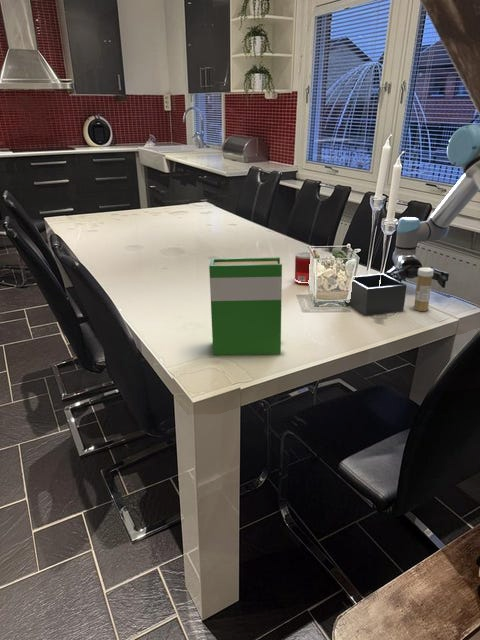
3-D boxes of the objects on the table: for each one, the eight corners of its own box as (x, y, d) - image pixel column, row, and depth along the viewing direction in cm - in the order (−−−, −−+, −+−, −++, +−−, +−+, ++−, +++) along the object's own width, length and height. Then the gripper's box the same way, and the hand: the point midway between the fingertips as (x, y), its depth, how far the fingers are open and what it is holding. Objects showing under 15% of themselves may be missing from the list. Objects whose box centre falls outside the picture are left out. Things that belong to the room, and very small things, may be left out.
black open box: (403, 311, 149) (406, 284, 146) (365, 315, 146) (367, 289, 143) (380, 298, 162) (383, 273, 158) (345, 302, 158) (346, 277, 155)
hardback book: (278, 342, 129) (279, 257, 120) (280, 354, 122) (281, 264, 113) (214, 343, 129) (211, 258, 120) (213, 355, 122) (209, 266, 113)
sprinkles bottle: (413, 306, 153) (418, 266, 148) (428, 307, 152) (433, 267, 147) (413, 311, 149) (418, 270, 144) (428, 312, 148) (434, 271, 143)
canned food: (318, 284, 177) (319, 256, 173) (298, 286, 176) (299, 257, 172) (311, 278, 184) (312, 251, 180) (292, 280, 183) (292, 253, 179)
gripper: (443, 276, 169) (461, 295, 150) (373, 275, 173) (381, 293, 153) (446, 256, 167) (464, 272, 147) (374, 255, 170) (383, 271, 151)
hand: (422, 283), depth 150 cm, fingers open, 13 cm apart
